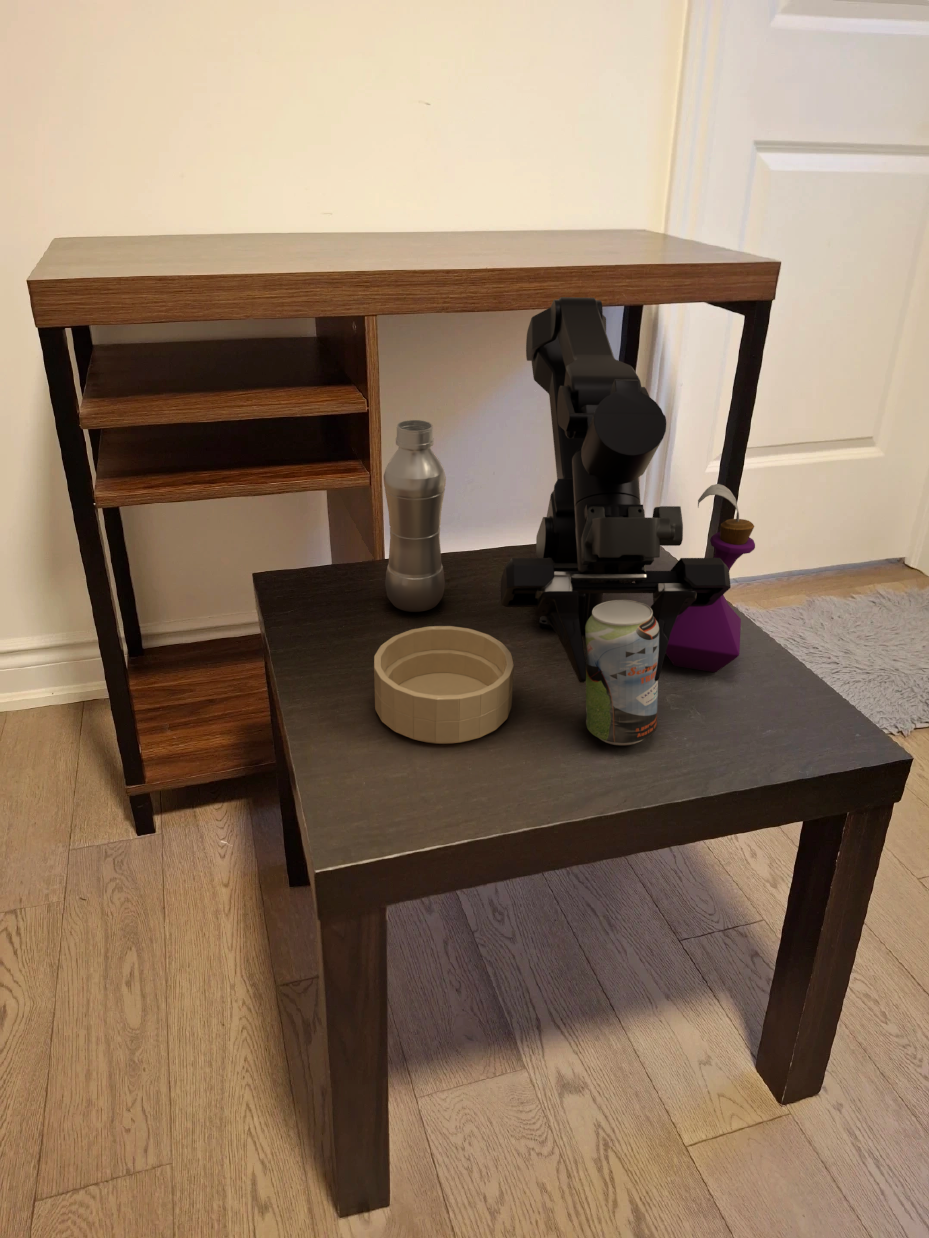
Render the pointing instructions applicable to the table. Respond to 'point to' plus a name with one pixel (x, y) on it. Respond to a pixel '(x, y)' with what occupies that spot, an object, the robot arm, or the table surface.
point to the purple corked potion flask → (713, 629)
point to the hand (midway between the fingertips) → (618, 681)
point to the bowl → (443, 684)
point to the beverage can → (621, 672)
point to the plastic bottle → (414, 519)
